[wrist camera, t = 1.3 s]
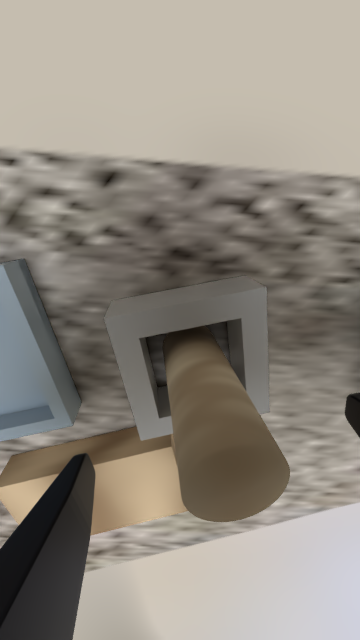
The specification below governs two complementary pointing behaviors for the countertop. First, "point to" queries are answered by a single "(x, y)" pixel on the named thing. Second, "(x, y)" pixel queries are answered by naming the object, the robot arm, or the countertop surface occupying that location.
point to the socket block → (183, 313)
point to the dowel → (218, 433)
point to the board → (102, 478)
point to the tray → (30, 361)
